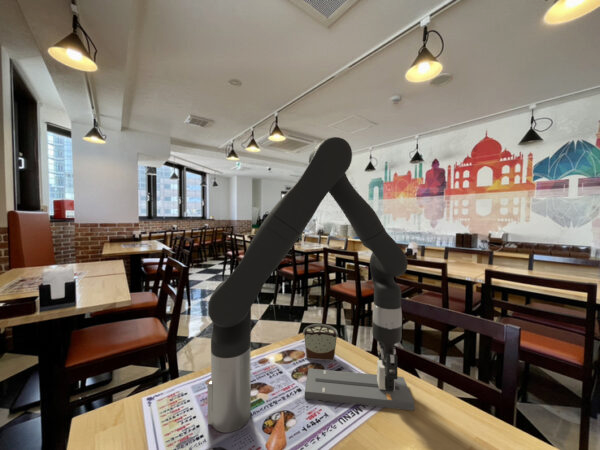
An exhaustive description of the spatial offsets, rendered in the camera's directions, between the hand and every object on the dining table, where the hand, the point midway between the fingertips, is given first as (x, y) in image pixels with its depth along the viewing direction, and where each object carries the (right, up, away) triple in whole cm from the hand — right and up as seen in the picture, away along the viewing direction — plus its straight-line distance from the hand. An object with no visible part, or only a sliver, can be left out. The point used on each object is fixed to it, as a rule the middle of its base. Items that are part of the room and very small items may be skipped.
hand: (385, 378), depth 67 cm
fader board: (-8, -4, +1) cm, 9 cm away
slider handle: (0, -2, 0) cm, 2 cm away
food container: (-16, -4, +19) cm, 26 cm away
